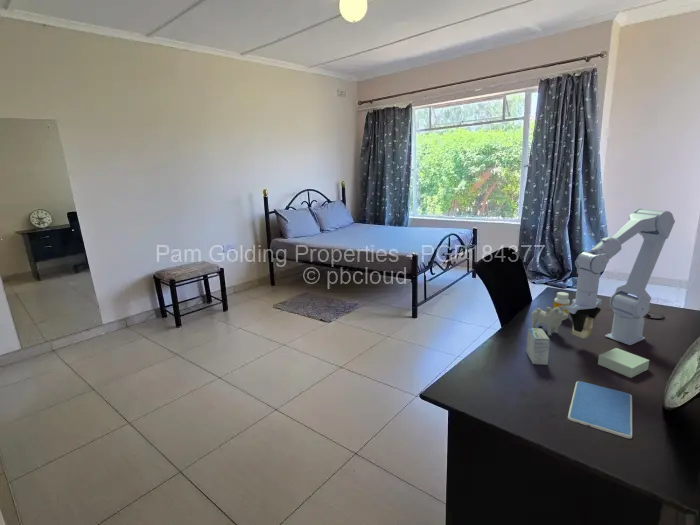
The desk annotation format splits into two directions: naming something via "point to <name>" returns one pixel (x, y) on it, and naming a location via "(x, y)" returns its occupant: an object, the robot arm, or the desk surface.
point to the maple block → (585, 328)
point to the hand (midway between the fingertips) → (582, 329)
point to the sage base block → (623, 362)
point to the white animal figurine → (549, 318)
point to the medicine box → (537, 346)
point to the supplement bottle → (562, 301)
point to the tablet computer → (602, 409)
